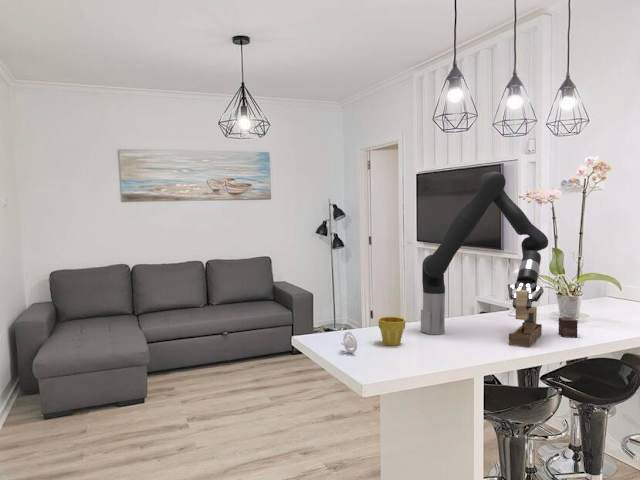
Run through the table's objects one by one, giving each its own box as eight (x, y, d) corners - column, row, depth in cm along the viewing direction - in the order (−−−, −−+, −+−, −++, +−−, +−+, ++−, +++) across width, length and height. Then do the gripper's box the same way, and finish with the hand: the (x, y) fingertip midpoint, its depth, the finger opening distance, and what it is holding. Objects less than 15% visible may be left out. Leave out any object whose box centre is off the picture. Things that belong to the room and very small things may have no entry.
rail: (529, 347, 195) (530, 316, 194) (508, 344, 199) (509, 314, 198) (541, 335, 215) (542, 306, 214) (522, 332, 219) (523, 304, 218)
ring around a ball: (360, 354, 186) (360, 332, 185) (348, 357, 183) (348, 335, 182) (347, 349, 192) (347, 328, 192) (335, 352, 189) (335, 330, 189)
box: (577, 338, 210) (578, 320, 210) (561, 337, 211) (562, 319, 211) (573, 334, 216) (573, 317, 216) (558, 333, 217) (558, 316, 217)
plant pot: (402, 348, 194) (402, 322, 194) (375, 345, 198) (375, 320, 197) (407, 341, 204) (407, 317, 203) (381, 339, 208) (382, 315, 207)
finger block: (526, 320, 197) (526, 291, 197) (515, 319, 199) (515, 291, 199) (528, 318, 201) (529, 290, 200) (518, 317, 203) (518, 289, 202)
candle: (525, 314, 257) (526, 265, 255) (522, 317, 251) (523, 266, 249) (510, 313, 261) (511, 264, 259) (507, 315, 255) (508, 265, 253)
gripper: (508, 266, 209) (500, 300, 200) (546, 268, 201) (539, 304, 192) (511, 278, 214) (503, 311, 204) (548, 280, 206) (542, 315, 196)
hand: (521, 307), depth 198 cm, fingers closed on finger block, 4 cm apart
